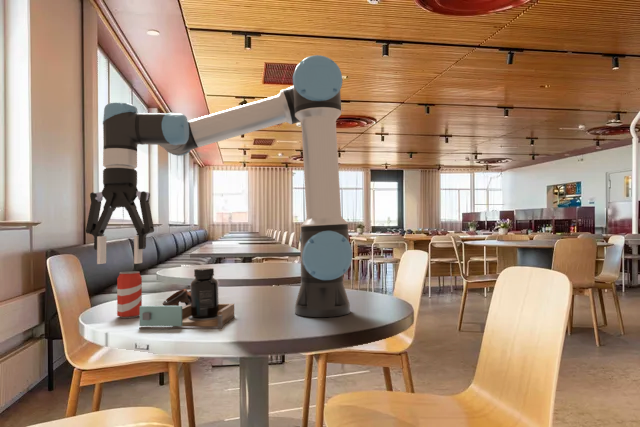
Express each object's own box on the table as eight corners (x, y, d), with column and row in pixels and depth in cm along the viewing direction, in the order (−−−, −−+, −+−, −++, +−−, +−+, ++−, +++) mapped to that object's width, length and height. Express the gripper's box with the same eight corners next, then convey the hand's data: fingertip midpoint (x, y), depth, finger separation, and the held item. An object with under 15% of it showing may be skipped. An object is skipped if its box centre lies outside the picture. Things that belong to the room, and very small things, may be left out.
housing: (236, 317, 121) (236, 303, 121) (221, 328, 106) (221, 313, 106) (164, 317, 122) (164, 304, 122) (139, 328, 107) (139, 313, 107)
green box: (182, 325, 108) (182, 305, 108) (179, 326, 106) (179, 306, 106) (141, 325, 108) (141, 305, 108) (137, 327, 106) (137, 307, 107)
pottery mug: (200, 320, 120) (184, 294, 118) (170, 336, 121) (153, 310, 119) (211, 301, 131) (196, 278, 130) (184, 316, 132) (168, 292, 131)
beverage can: (111, 318, 121) (112, 273, 122) (127, 314, 127) (127, 271, 128) (131, 319, 120) (132, 273, 120) (146, 314, 126) (146, 271, 126)
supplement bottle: (223, 314, 118) (222, 267, 118) (211, 319, 111) (210, 269, 112) (199, 313, 119) (198, 267, 120) (185, 318, 113) (185, 270, 113)
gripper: (169, 169, 113) (169, 261, 112) (86, 171, 114) (86, 262, 113) (156, 165, 105) (156, 264, 104) (68, 167, 107) (67, 265, 106)
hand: (120, 263), depth 109 cm, fingers open, 8 cm apart
